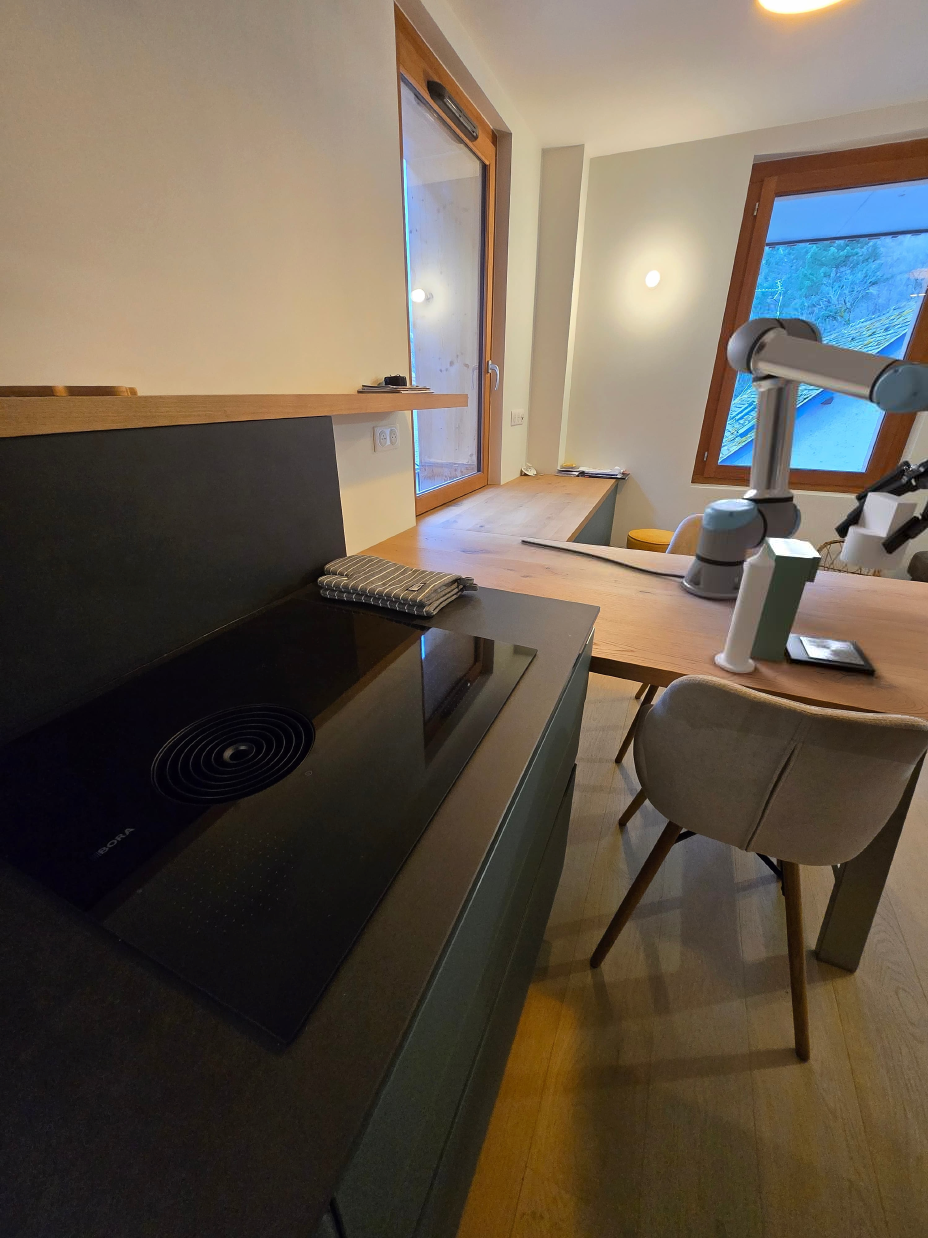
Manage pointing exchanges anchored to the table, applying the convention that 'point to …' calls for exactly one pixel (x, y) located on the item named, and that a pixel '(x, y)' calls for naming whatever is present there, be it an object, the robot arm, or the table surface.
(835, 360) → the robot arm
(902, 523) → the base with upright slab
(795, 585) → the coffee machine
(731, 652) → the candle
